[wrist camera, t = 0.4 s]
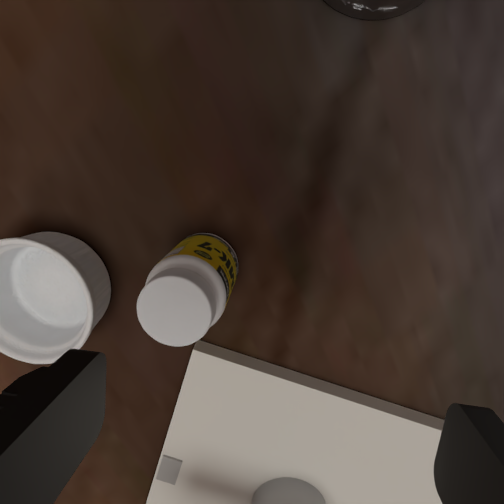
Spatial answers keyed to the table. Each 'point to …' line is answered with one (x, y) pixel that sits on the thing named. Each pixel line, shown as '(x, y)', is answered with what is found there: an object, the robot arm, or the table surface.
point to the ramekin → (49, 295)
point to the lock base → (289, 440)
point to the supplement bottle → (188, 290)
